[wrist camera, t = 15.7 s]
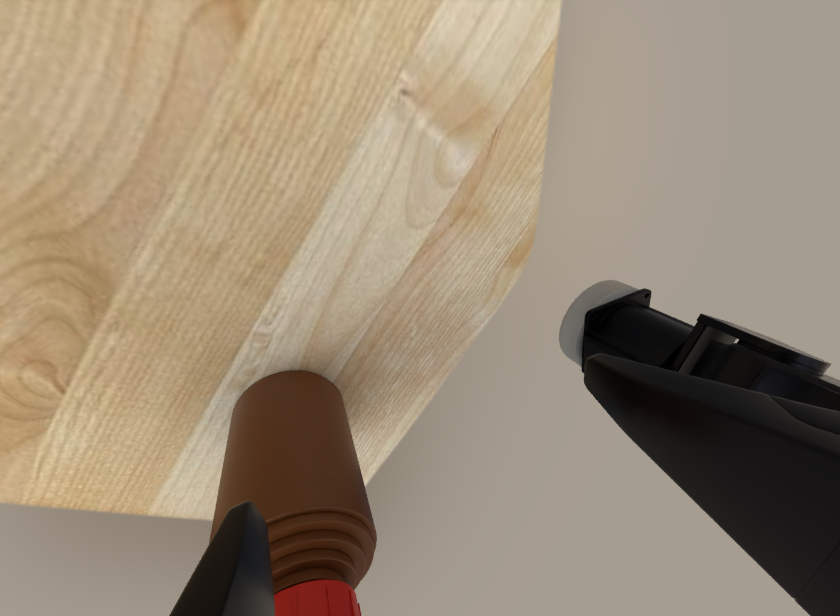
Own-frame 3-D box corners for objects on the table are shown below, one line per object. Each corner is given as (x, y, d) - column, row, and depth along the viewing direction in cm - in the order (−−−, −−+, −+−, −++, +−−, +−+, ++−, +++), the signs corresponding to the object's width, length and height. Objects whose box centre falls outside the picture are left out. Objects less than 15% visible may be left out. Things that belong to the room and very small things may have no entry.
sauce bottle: (325, 355, 20) (392, 650, 8) (354, 429, 23) (433, 724, 11) (211, 396, 19) (94, 824, 7) (258, 470, 22) (233, 856, 10)
